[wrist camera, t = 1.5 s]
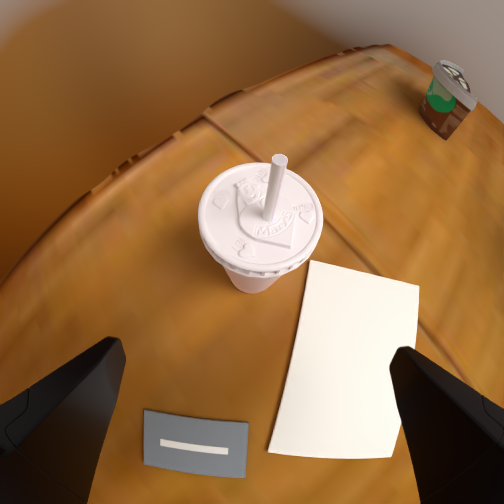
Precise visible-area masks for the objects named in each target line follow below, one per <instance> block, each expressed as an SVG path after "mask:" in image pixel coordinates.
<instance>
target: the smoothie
mask: <svg viewBox="0 0 504 504" xmlns="http://www.w3.org/2000/svg"><path fill="white" fill-rule="evenodd" d="M287 162H288V159H287V157H286V156H284V155H282V154H276V155H274V156H273V157H272V163H271V164H268V163H248V164H242V165H238V166H235V167H233V168H230V169H228V170H226V171H224V172H223V173H221V174H220V175H218V176H217V177H216V178H215V179H214V180H213V181H212V182H211V183H210V184H209V185H208V187H207V188H206V189H205V191H204V193H203V195H202V197H201V200H200V203H199V208H198V221H199V230H200V236H201V238H202V240H203V243H204V245H205V247H206V249H207V250H208V252H209V253H210V254H211V255H212V256H213V258H214V259H215V260H216V261H217V262H218V263H220V264H221V265H223V267H224V269H225V271H226V272H227V274H228V276H229V278H230V279H231V281H232V283H233V284H234V286H235V287H236V288H237V289H239V290H240V291H242V292H245V293H249V294H255V293H260V292H262V291H264V290H266V289H267V288H268V287H269V286H270V285H272V284H273V283H274V282H275V281H276V280H277V279H278V278H279V277H280V276H281V275H283V274H285V273H287V272H290V271H292V270H294V269H296V268H297V267H299V266H300V265H301V264H302V263H303V262H304V261H305V260H307V259H308V258H309V256H310V255H311V253H312V251H313V250H314V248H315V247H316V245H317V242H318V240H319V237H320V235H321V231H322V226H323V213H322V208H321V204H320V202H319V199H318V197H317V195H316V194H315V192H314V190H313V189H312V188H311V187H310V185H309V184H308V183H307V182H306V181H305V180H304V179H302V178H301V177H300V176H298V175H297V174H295V173H294V172H292V171H290V170H288V169H286V166H287Z"/></svg>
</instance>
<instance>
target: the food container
mask: <svg viewBox="0 0 504 504" xmlns="http://www.w3.org/2000/svg"><path fill="white" fill-rule="evenodd" d="M432 71H433V74H434V77H433V79H432V82H431V84H430V86H429V89H428V91H427V93H426V95H425V98H424V100H423V102H422V104H421V106H420V109H419V111H420V114H421V116H422V118H423V119H424V121H425V122H426V123H427V125H428V126H429V127H430V128H431V129H432V130H433V131H434V132H435V133H437V134H438V135H439V136H440V137H442V138H443V139H444V140H447V139H448V138H449V137H450V136H451V134H452V133H453V132H454V131H455V129H456V128H457V127H458V126H459V125H460V123H461V122H462V121H463V120H464V118H465V117H466V116H467V115H468V113H469V112H470V111H473V110H474V108H475V106H476V103H477V102H478V99H477V98H475V97H474V96H473V95H472V94H471V93H470V88H469V85H468V83H467V82H466V81H465V80H464V78H463V76H462V73H463V71H464V70H463V69H462V68H460V67H458V66H457V65H455V64H453V63H451V62H448V61H445V60H442V61H440V62H438V63H437V64H436V65H435V66H434V67H433V69H432Z"/></svg>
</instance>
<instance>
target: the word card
mask: <svg viewBox="0 0 504 504" xmlns="http://www.w3.org/2000/svg"><path fill="white" fill-rule="evenodd" d="M248 427H249V422H235V421H222V420H211V419H202V418H194V417H187V416H180V415H173V414H167V413H162V412H156V411H151V410H144V464H145V465H150V466H154V467H159V468H164V469H169V470H174V471H180V472H186V473H193V474H200V475H209V476H219V477H232V478H245V473H246V458H247V443H248Z"/></svg>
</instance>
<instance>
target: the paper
mask: <svg viewBox="0 0 504 504" xmlns="http://www.w3.org/2000/svg"><path fill="white" fill-rule="evenodd" d="M418 303H419V286H417V285H413V284H409V283H405V282H400V281H396V280H392V279H388V278H384V277H380V276H376V275H372V274H368V273H363V272H359V271H355V270H351V269H347V268H343V267H338V266H334V265H330V264H326V263H322V262H318V261H313V260H310V262H309V268H308V274H307V280H306V286H305V291H304V297H303V302H302V307H301V313H300V318H299V323H298V328H297V333H296V338H295V342H294V347H293V352H292V356H291V361H290V365H289V370H288V374H287V378H286V382H285V387H284V391H283V395H282V399H281V403H280V407H279V411H278V414H277V418H276V422H275V426H274V429H273V433H272V437H271V440H270V444H269V447H268V452H270V453H277V454H285V455H294V456H304V457H318V458H347V459H355V458H384V457H391V456H392V453H393V450H394V446H395V443H396V439H397V436H398V432H399V428H400V425H401V419H400V416H399V412H398V409H397V405H396V400H395V395H394V390H393V385H392V380H391V376H390V371H389V366H390V362H391V360H392V358H393V356H394V354H395V352H396V350H397V349H398V348H399V347H401V346H410V347H412V348H413V349H415V341H416V331H417V319H418Z"/></svg>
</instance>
